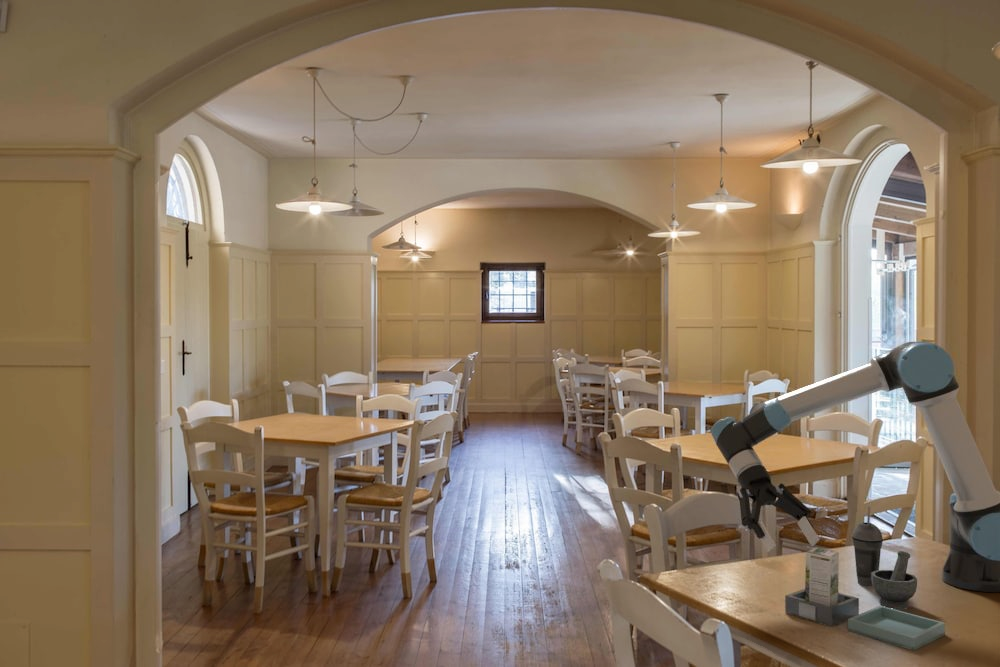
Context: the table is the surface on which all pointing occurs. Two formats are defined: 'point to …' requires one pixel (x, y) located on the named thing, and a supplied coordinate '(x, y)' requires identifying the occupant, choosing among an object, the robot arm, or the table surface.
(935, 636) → the tray
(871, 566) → the beverage cup
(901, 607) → the mortar and pestle
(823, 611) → the square open bin
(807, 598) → the syrup box
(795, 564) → the table surface
